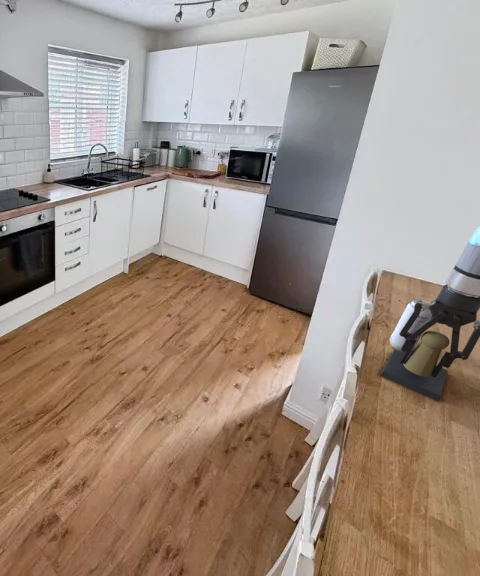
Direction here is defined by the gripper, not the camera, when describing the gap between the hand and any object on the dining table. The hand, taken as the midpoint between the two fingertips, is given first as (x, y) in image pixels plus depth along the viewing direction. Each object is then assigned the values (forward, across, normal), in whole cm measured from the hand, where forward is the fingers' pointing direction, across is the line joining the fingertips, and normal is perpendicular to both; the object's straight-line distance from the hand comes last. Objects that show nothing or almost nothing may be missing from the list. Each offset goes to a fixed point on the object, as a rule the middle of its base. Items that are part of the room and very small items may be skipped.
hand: (418, 367), depth 95 cm
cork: (+1, 0, 0) cm, 1 cm away
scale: (+4, 0, -2) cm, 5 cm away
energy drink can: (+4, +5, -16) cm, 17 cm away
